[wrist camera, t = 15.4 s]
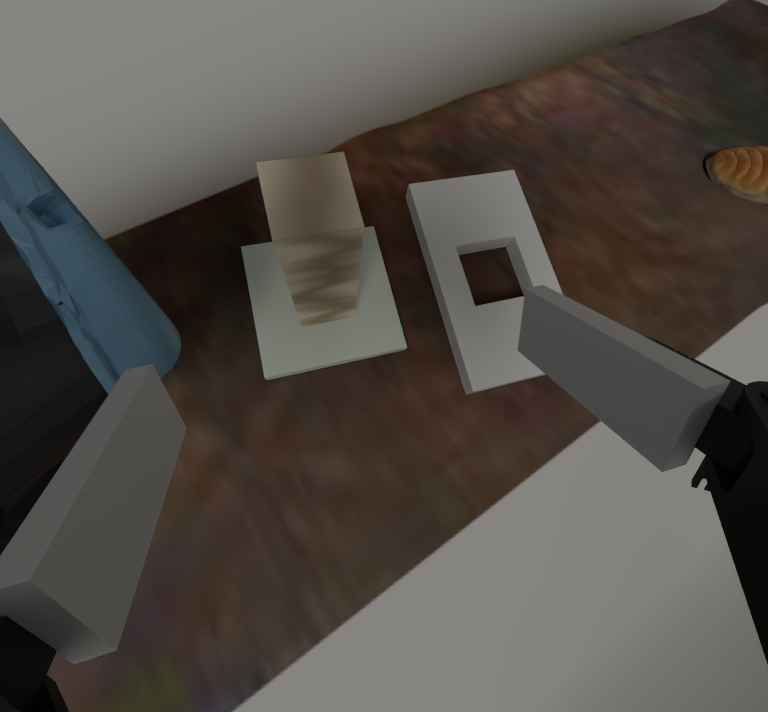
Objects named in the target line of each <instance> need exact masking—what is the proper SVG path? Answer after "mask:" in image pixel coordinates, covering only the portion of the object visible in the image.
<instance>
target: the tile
mask: <svg viewBox="0 0 768 712" xmlns="http://www.w3.org/2000/svg"><path fill="white" fill-rule="evenodd" d="M241 249H242V255H243V261H244V266H245V272H246V277H247V283H248V288H249V294H250V299H251V305H252V310H253V316H254V322H255V327H256V333H257V338H258V344H259V349H260V355H261V360H262V366H263V371H264V377H265V379H266V380H270V379H275V378H279V377H284V376H288V375H293V374H298V373H302V372H307V371H311V370H316V369H320V368H325V367H329V366H334V365H339V364H343V363H348V362H352V361H357V360H361V359H366V358H370V357H375V356H380V355H384V354H389V353H393V352H398V351H402V350H405V349H406V348H407V345H406V341H405V338H404V334H403V330H402V327H401V323H400V319H399V316H398V312H397V309H396V305H395V301H394V298H393V294H392V291H391V287H390V283H389V280H388V276H387V272H386V269H385V265H384V262H383V258H382V254H381V251H380V247H379V244H378V240H377V236H376V233H375V229H374V226H371V227H365V228H364V233H363V243H362V253H361V264H360V274H359V284H358V294H357V304H356V314H355V317H350V318H345V319H340V320H335V321H330V322H325V323H320V324H316V325H311V326H306V327H302V326H301V324H300V321H299V318H298V315H297V312H296V309H295V306H294V303H293V300H292V297H291V294H290V291H289V288H288V285H287V282H286V279H285V276H284V274H283V271H282V268H281V265H280V262H279V259H278V256H277V253H276V250H275V247H274V244H273V242H268V243H261V244H255V245H248V246H242V247H241Z"/></svg>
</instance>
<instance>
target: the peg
mask: <svg viewBox="0 0 768 712" xmlns="http://www.w3.org/2000/svg"><path fill="white" fill-rule="evenodd" d="M256 165H257V170H258V175H259V180H260V185H261V189H262V194H263V199H264V204H265V208H266V213H267V218H268V223H269V227H270V232H271V237H272V241H273V244H274V247H275V250H276V253H277V256H278V259H279V262H280V265H281V268H282V271H283V274H284V276H285V279H286V282H287V285H288V288H289V291H290V294H291V297H292V300H293V303H294V306H295V309H296V312H297V315H298V318H299V321H300V324H301V326H302V327H306V326H311V325H316V324H320V323H325V322H330V321H335V320H340V319H345V318H350V317H355V314H356V304H357V294H358V284H359V274H360V264H361V253H362V243H363V233H364V223H363V220H362V216H361V213H360V209H359V205H358V202H357V198H356V195H355V191H354V187H353V184H352V180H351V177H350V173H349V169H348V166H347V162H346V158H345V155H344V152H338V153H329V154H321V155H313V156H305V157H297V158H289V159H280V160H272V161H263V162H256Z"/></svg>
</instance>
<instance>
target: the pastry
mask: <svg viewBox="0 0 768 712" xmlns="http://www.w3.org/2000/svg"><path fill="white" fill-rule="evenodd" d="M706 169H707V172H708V175H709V177H710V179H711V180H712V182H713V183H715V184H718V185H720V186H721V187H723V188H724V189H726V190H727V191H728V192H729V193H731V194H732V195H734V196H736V195H737V196H739V197H742V198H745V199H748V200H750V201H753V202H757V203H763V204H767V203H768V147H763V146H757V147H736V148H728V149H723V150H719V151H718V152H717V153H715V154H714V155H713V156H712V157H710V158H708V159H707V160H706Z"/></svg>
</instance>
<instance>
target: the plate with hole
mask: <svg viewBox="0 0 768 712" xmlns="http://www.w3.org/2000/svg"><path fill="white" fill-rule="evenodd" d="M405 198H406V201H407V204H408V208H409V211H410V214H411V217H412V221H413V224H414V227H415V231H416V234H417V237H418V240H419V244H420V247H421V250H422V253H423V257H424V260H425V263H426V267H427V270H428V273H429V276H430V280H431V283H432V286H433V289H434V293H435V296H436V299H437V303H438V306H439V309H440V312H441V316H442V319H443V322H444V326H445V329H446V332H447V335H448V339H449V342H450V345H451V348H452V352H453V355H454V358H455V362H456V365H457V368H458V371H459V375H460V378H461V381H462V384H463V388H464V391H465V394H470V393H474V392H478V391H482V390H486V389H490V388H494V387H498V386H502V385H506V384H510V383H514V382H518V381H522V380H526V379H530V378H534V377H538V376H542V375H546V374H545V373H544V372H543V371H541V370H540V369H539V368H538V367H537V366H535V365H534V364H533V363H532V362H531V361H529V360H528V359H527V358H526V357H525V356H523V355H522V354H521V353H520V352H519V351H518V342H519V335H520V327H521V319H522V311H523V303H524V296H522V297H517V298H512V299H508V300H503V301H498V302H493V303H488V304H483V305H478V306H475V304H474V301H473V298H472V295H471V292H470V289H469V286H468V283H467V279H466V276H465V273H464V270H463V267H462V264H461V261H460V258H459V255H462V254H468V253H473V252H479V251H485V250H490V249H496V248H502V247H506V249H507V252H508V254H509V257H510V260H511V263H512V265H513V268H514V271H515V274H516V276H517V279H518V282H519V285H520V287H521V290H522V293H523V295H525V288H530V287H535V286H540V285H545V286H547V287H549V288H551V289H553V290H555V291H556V292H558V293H560V294H562V291H561V289H560V286H559V283H558V281H557V278H556V276H555V273H554V271H553V268H552V266H551V263H550V260H549V258H548V255H547V253H546V250H545V248H544V245H543V243H542V240H541V237H540V235H539V232H538V230H537V227H536V225H535V222H534V220H533V217H532V214H531V212H530V209H529V207H528V204H527V202H526V199H525V197H524V194H523V191H522V189H521V186H520V184H519V181H518V179H517V176H516V174H515V171H514V170H509V171H502V172H494V173H487V174H480V175H472V176H465V177H457V178H450V179H443V180H435V181H428V182H421V183H413V184H409V185H408V189H407V193H406V197H405ZM562 295H563V294H562Z"/></svg>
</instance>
